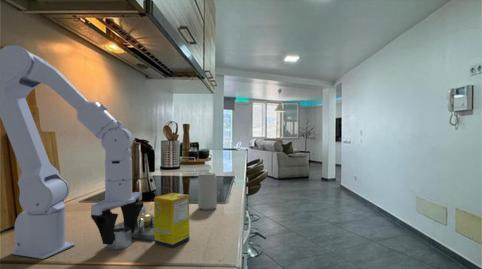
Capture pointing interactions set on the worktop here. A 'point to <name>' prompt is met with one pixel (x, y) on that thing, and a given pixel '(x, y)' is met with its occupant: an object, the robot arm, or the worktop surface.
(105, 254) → the worktop surface
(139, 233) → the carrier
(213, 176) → the beverage can
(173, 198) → the supplement box
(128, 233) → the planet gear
